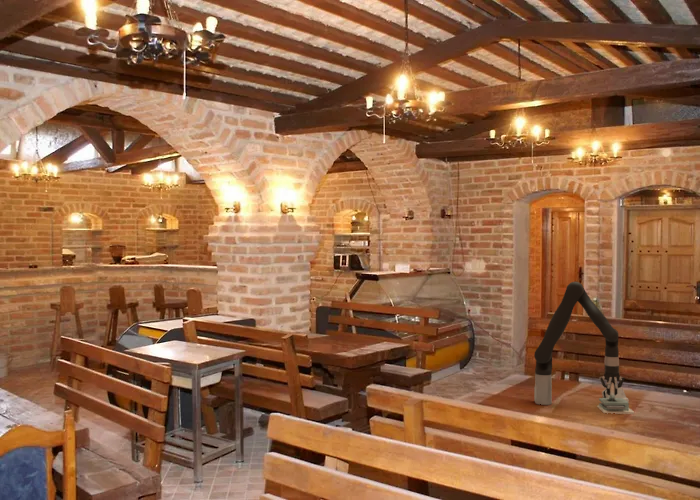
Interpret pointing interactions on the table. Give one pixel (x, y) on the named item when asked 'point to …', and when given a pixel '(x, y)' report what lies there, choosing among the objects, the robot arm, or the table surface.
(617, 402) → the square frame block
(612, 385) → the pin
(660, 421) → the table surface
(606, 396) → the white black beveled block
